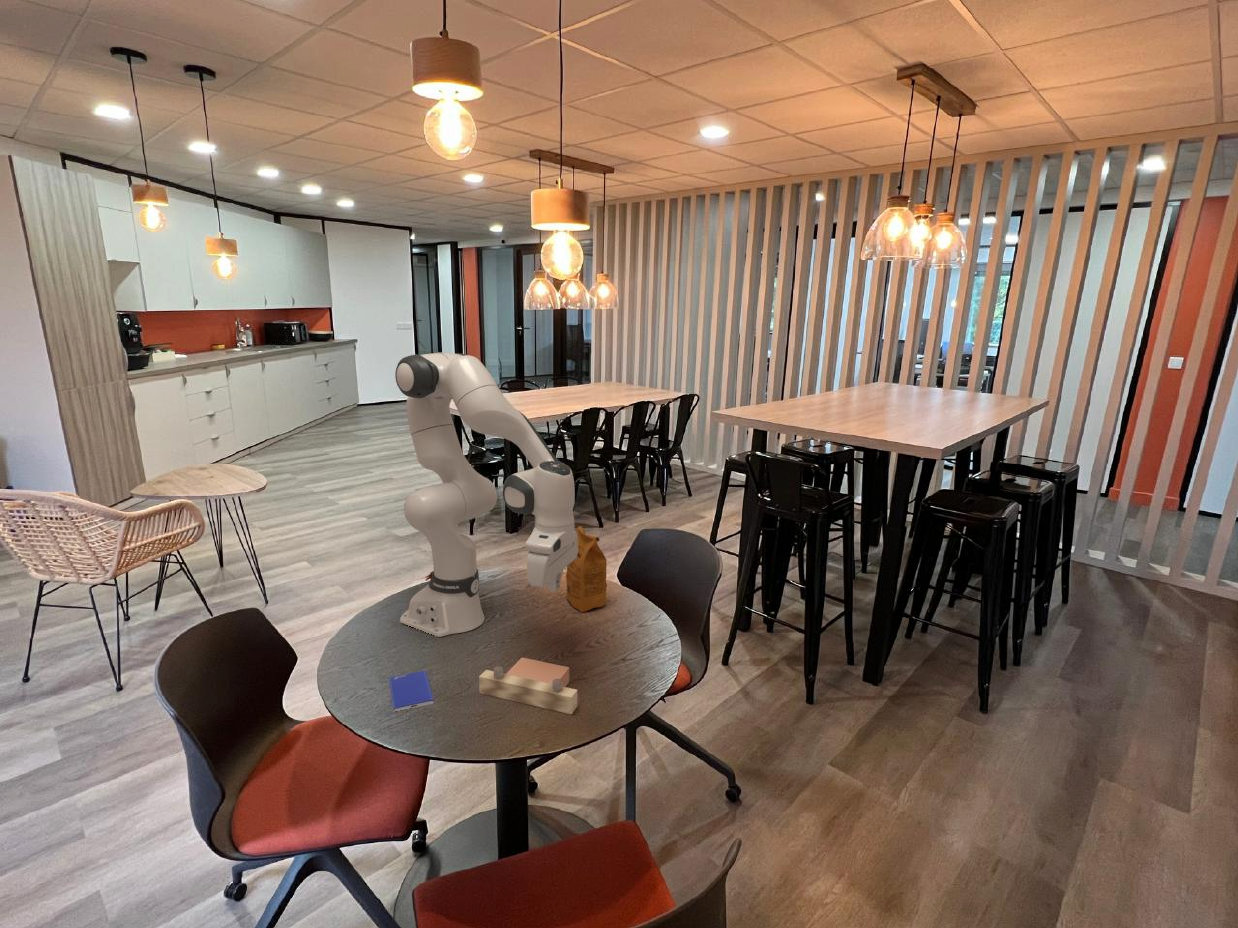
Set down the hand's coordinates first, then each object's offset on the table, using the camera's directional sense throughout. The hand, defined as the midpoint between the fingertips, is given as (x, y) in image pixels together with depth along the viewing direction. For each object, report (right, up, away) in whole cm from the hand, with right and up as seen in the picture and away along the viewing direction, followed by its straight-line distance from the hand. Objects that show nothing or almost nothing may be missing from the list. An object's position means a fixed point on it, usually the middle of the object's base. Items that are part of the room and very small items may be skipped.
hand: (554, 589), depth 146 cm
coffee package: (+5, -11, +37) cm, 39 cm away
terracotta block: (-3, -21, -4) cm, 22 cm away
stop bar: (-5, -22, -10) cm, 24 cm away
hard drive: (-31, -22, -7) cm, 38 cm away
